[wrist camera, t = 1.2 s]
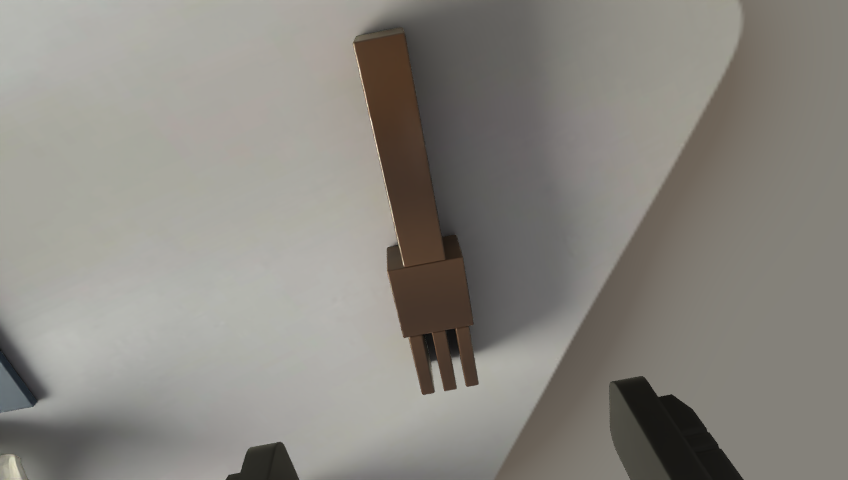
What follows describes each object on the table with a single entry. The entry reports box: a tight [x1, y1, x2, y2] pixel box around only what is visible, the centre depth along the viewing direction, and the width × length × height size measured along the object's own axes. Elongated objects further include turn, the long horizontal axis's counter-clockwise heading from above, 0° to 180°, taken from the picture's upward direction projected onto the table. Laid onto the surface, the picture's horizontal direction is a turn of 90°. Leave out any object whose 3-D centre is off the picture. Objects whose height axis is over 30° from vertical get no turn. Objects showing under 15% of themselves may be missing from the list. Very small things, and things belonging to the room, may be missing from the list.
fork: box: [353, 27, 479, 395], centre depth 24 cm, size 18×4×2 cm, turn 10°
